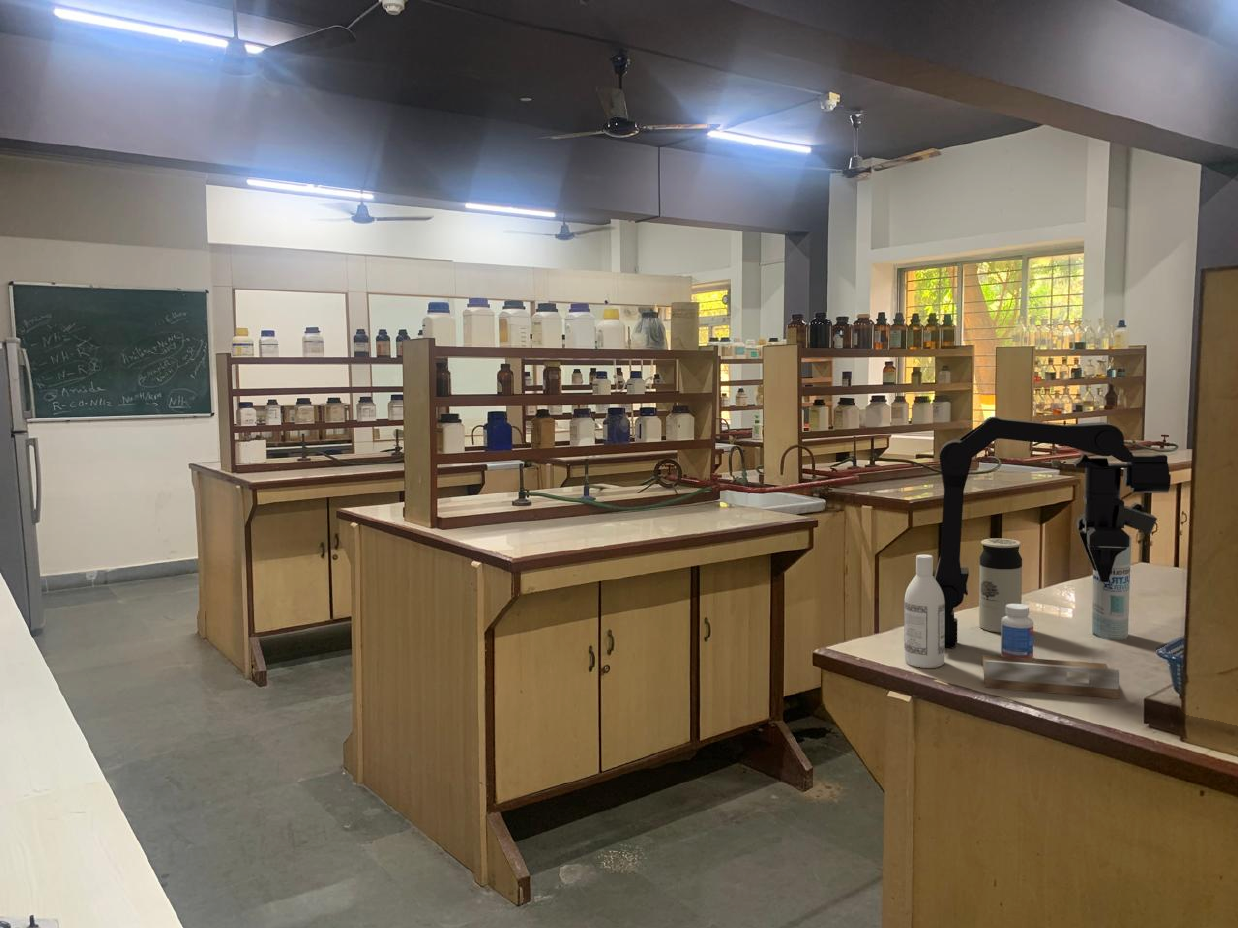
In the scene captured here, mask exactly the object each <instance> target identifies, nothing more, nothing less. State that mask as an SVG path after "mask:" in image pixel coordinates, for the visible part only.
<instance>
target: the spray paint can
mask: <svg viewBox="0 0 1238 928" xmlns="http://www.w3.org/2000/svg"><path fill="white" fill-rule="evenodd" d="M1128 535H1129V536H1130V542H1129V547H1127V549H1126V550H1125V551H1122V552H1121V553H1119V554H1118V555H1117V556H1116V559H1115V562H1114V565H1113V568H1112V571H1111V574H1110V578H1109V581H1108V582H1101V580H1100V577H1099V575H1098V572H1097V571H1094V569H1093V568H1092V608H1091V609H1092V612H1091V614H1092V616H1091V621H1092V622H1091V631H1092V635H1093V636H1095V637H1097V638H1101V639H1106V640H1119V641H1120V640H1126V639H1127V638H1128V635H1129V615H1130V590H1131V589H1130V586H1131V585H1130V584H1131V564H1132V563H1131V560H1132V559H1131V558H1132V557H1131V556H1132V555H1131V554H1132V536H1131V535H1130V534H1128Z"/></svg>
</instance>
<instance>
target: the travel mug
mask: <svg viewBox="0 0 1238 928" xmlns="http://www.w3.org/2000/svg"><path fill="white" fill-rule="evenodd" d="M980 543H981V545H982V549H983V550H982V552H981V554H980V555H979V583H978V584H979V590H978V591H979V593H978V594H979V597H978V598H979V602H978V603H979V604H978V610H979V611H978V615H979V617H978V618H979V619H978V625H979V627H980V628H982V630H985V631H988V632H992V633H998V634H999V633H1000V634H1001V620H1002V618H1003V617H1005V616H1007V614H1006V612H1005V610H1006V605H1007V604H1023V603H1022V600H1023V599H1022V598H1023V597H1022V596H1023V591H1022V590H1023V557H1022V555H1021V553H1020V546H1021V545H1022V543H1021V541H1019V540H1016V539H1011V538H987V539H986V538H985V539H982V540H981V541H980Z"/></svg>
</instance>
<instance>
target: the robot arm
mask: <svg viewBox="0 0 1238 928" xmlns="http://www.w3.org/2000/svg"><path fill="white" fill-rule="evenodd" d="M998 439H1001V440H1010V441H1019V442H1027V443H1028V442H1029V443H1038V444H1039V443H1040V444H1048V445H1056V446H1057V445H1058V446H1065V447H1068V448H1071V449H1076V450H1079V451H1083V452H1086V453H1088V454H1093V455H1097V456H1100V457H1089V456H1088V455H1087V454H1086V453H1082V455H1081V456H1080V457H1079V458H1078V459H1077V460H1075V461H1074V462H1072V463H1073V465H1074V467H1075V468H1079V469H1081V468H1082V469H1085V473H1084V479H1085V480H1084V495H1082V498H1083V499H1082V500H1083V502H1084V513H1081V514H1080V515H1079V516H1078V517H1076V529H1077V530H1078V531H1077V532H1078V535H1079V537H1080V540H1081V543H1082V545H1083V546H1084V549H1085V550H1084V551H1085V552H1086V555H1087V557H1088V559H1089V562H1090V564H1091V567H1092V570H1093V569H1094V571H1097V572H1098V575H1099V577H1100V580H1101V582H1108V581H1109V578H1110V574H1111V571H1112V568H1113V565H1114V562H1115V559H1116V556H1117V555H1118V554H1119V553H1121V552H1122V551H1125V550H1126V549H1127V547H1129V542H1130V536H1131V535H1130V534H1129V533H1127V532H1126V531H1125V530H1124V529H1125V526H1126V527H1129V528H1132V529H1135V530H1138V531H1141V532H1142V534H1146V535H1148V536H1150V535H1151V533H1152V531H1153V529H1154V527H1155V526H1156V525H1155V524H1156V522H1157V520H1158V518H1157V517H1156V516H1155V515H1153V514H1150V513H1149V512H1148V513H1147V512H1146V506H1145V505H1143V504H1140V503H1138V502H1134V503H1133V504H1131V505H1130V506H1128V505H1125V501H1124V500H1123V499H1122V498H1121V488H1122V485H1121V482H1122V480H1121V479H1123V485H1124V487H1125V488H1126V487H1127V488H1128V487H1129V490H1130V492H1131V493H1147V494H1148V493H1151V494H1152V493H1155V494H1157V493H1158V494H1159V493H1160V494H1166V493H1167V494H1168V493H1169V491H1170V488H1171V483H1172V482H1171V480H1172V477H1171V476H1172V475H1171V474H1170V467H1169V463H1168V455H1166V454H1161V453H1160V454H1153V455H1133V451H1131V450H1129V448H1128V447H1127V446H1126V445H1125V444H1124V442H1125V436H1124V435H1123V432H1122V430H1121V429H1119V427H1118V426H1116V425H1114V424H1110V423H1108V422H1105V421H1102V422H1101V421H1098V422H1082V423H1073V424H1061V423H1060V424H1059V423H1050V422H1049V423H1048V422H1040V421H1028V420H1018V419H1009V418H1000V417H998V416H990V417H987V418H986V419H985V420H984V421H983V422H982V423H981V424H979V425H978V426H976V427H974V428H973V429H972V430H971V431H969V432H968V433H966V434H965V435H963V436H962V437H960V438H959V439H951V440H948V441H946V442H945V443H944V444H943V445H942V446H941V448H940V452H939V462H940V463H939V464H940V471H941V478H942V483H943V502H942V503H943V505H942V521H941V522H942V523H941V538H940V539H941V540H940V541H941V542H940V554H939V555H940V556H939V559H938V563H937V567H936V570H935V574H934V578H935V580H936V581H937V583H938V584H939V586H940V587H941V589H942V592H943V595H944V602H945V648H950V649H951V648H955V647H956V643H958V618H956V617H955V610H954V609H955V608H957V607H959V606H960V605H961V604H962V603H963V601H964V598H965V596H968V595H969V590H968V580H969V573H970V571H969V567H968V566H967V567H962V565H961V542H962V528H963V527H962V526H963V525H962V524H963V507H964V495H965V494H964V491H965V488H966V484H967V481H968V477H969V472H970V470H971V465H972V461H973V458H974V457H975V456H977V455H978V454H979V453H981V452H982V451H983V450H985V449H986V448H987V447H988V446H991V444H992V443H994V442H995V441H996V440H998ZM1110 456H1112V457H1113V458H1115V459H1117V460H1118V461H1120V462H1121V463H1120V462H1116V463H1115V462H1114V463H1113V462H1109V461H1108V457H1110ZM1122 469H1123V473H1122ZM1122 474H1123V475H1122ZM1122 476H1123V477H1122ZM1121 477H1122V478H1121ZM1129 535H1130V536H1129Z"/></svg>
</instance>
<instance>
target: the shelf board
mask: <svg viewBox="0 0 1238 928" xmlns="http://www.w3.org/2000/svg"><path fill="white" fill-rule="evenodd" d="M982 669H983V670H982V671H983V672H982V673H983V681H984V687H985V688H988V689H990V688H991V689H1002V690H1012V691H1013V690H1014V691H1024V692H1025V691H1027V692H1038V693H1050V694H1062V695H1071V696H1072V695H1073V696H1074V695H1075V696H1087V697H1096V698H1111V699H1119V697H1120V670H1119V669H1114V668H1109V666H1108V665H1107V663H1102V662H1087V661H1073V660H1072V661H1070V660H1059V659H1058V660H1057V659H1044V658H1019V657H1005V656H1001V655H990V654H982Z"/></svg>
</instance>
